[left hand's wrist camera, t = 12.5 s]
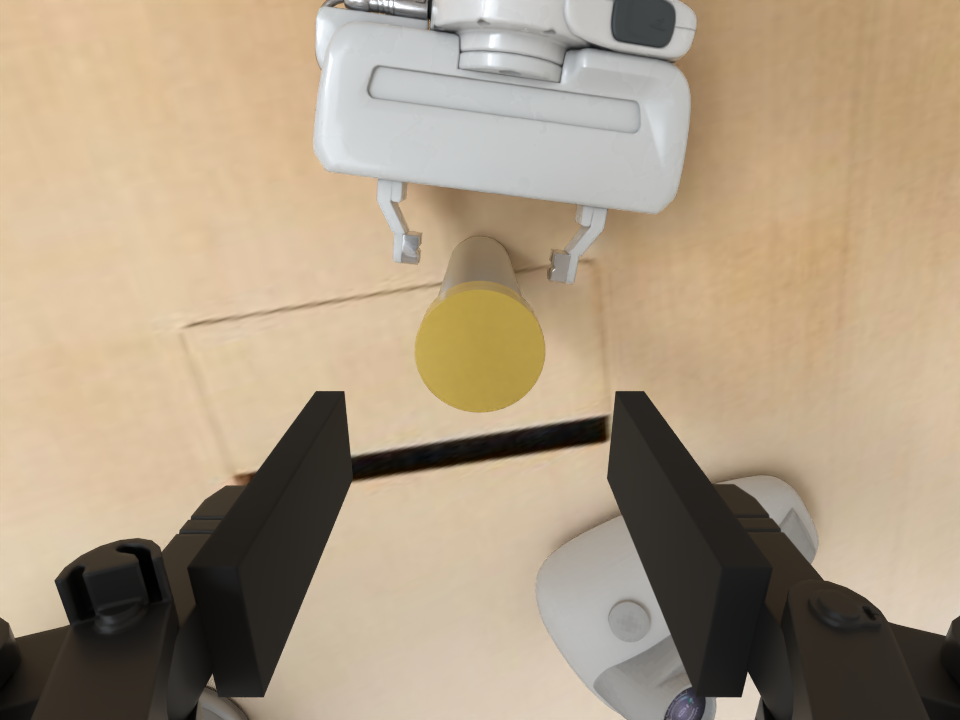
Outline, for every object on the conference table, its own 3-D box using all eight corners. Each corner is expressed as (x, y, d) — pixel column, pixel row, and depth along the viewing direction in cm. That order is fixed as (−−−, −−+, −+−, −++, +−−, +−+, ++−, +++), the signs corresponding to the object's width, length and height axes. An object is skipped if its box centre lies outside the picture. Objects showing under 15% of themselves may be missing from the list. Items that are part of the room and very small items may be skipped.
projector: (736, 663, 52) (828, 841, 38) (511, 636, 51) (522, 810, 37) (821, 475, 44) (973, 613, 31) (558, 438, 43) (595, 564, 29)
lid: (491, 254, 21) (492, 262, 19) (564, 350, 22) (570, 365, 21) (394, 329, 22) (387, 342, 20) (469, 416, 24) (468, 435, 22)
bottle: (485, 222, 37) (490, 271, 20) (522, 273, 39) (558, 360, 21) (436, 261, 38) (400, 340, 21) (474, 309, 40) (470, 420, 22)
